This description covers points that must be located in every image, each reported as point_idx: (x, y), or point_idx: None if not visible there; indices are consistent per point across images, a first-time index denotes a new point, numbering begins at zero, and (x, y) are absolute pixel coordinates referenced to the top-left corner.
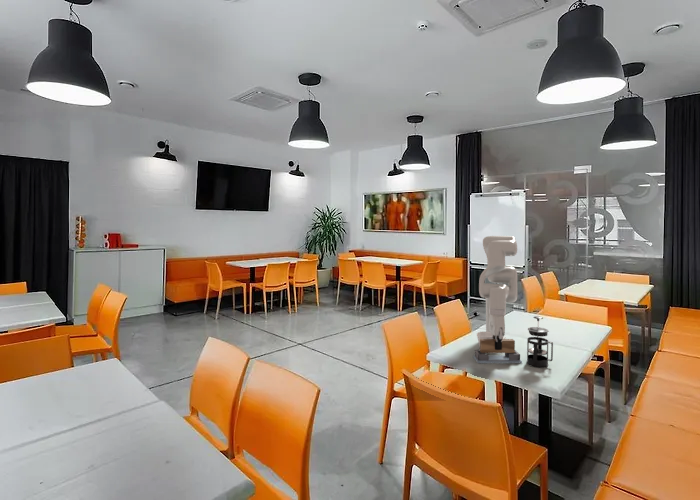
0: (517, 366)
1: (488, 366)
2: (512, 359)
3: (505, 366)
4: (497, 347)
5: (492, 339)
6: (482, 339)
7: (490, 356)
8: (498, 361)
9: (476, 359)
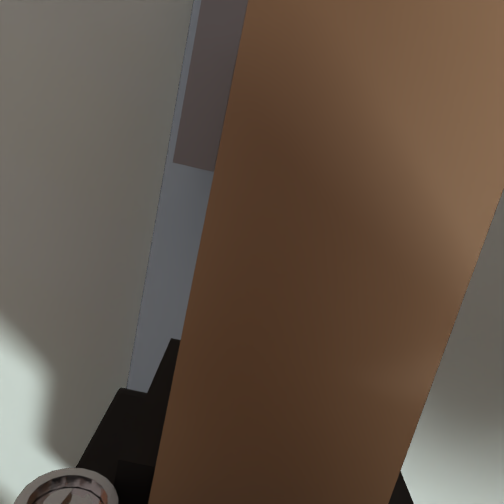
0: (11, 428)
1: (50, 64)
2: None
3: (25, 296)
4: (115, 395)
5: (327, 491)
6: (463, 101)
7: None
8: (145, 283)
9: None
